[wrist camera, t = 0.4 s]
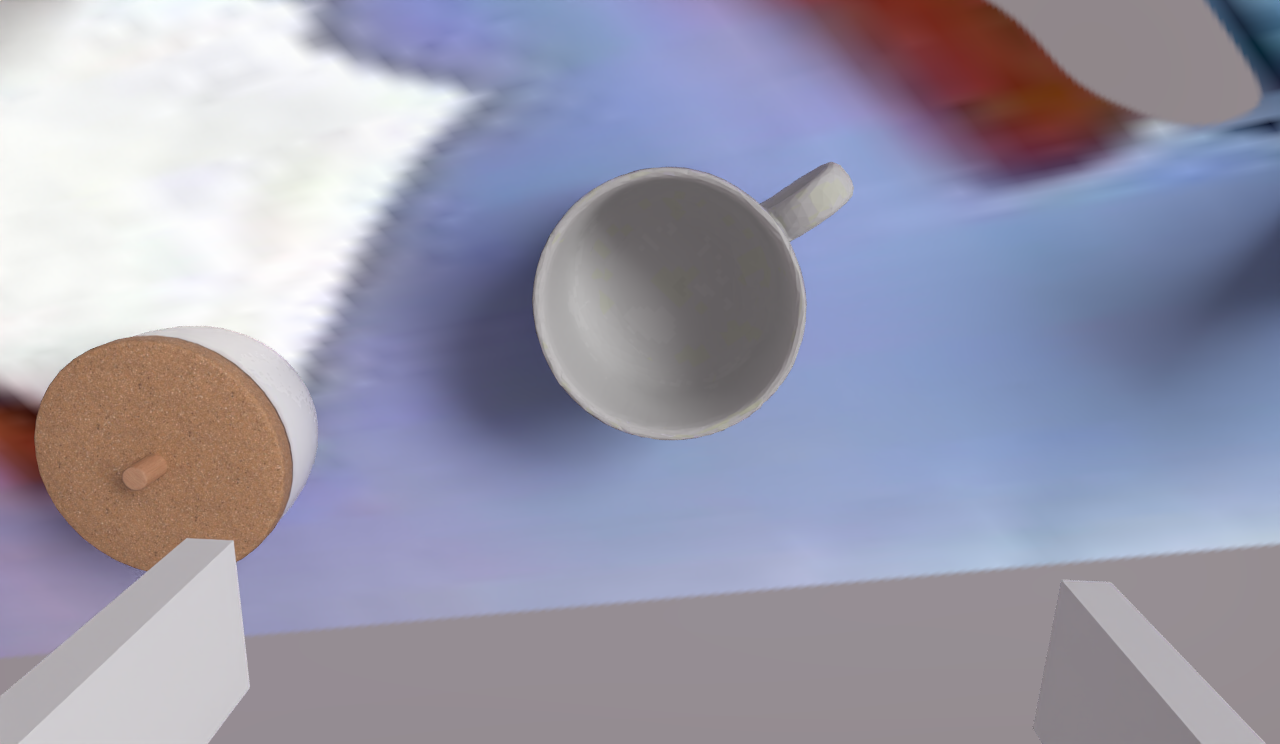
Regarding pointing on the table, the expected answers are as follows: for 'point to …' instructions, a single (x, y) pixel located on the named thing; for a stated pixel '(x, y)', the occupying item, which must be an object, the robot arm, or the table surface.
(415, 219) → the table surface
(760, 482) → the table surface
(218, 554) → the robot arm
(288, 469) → the lidded jar
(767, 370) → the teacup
